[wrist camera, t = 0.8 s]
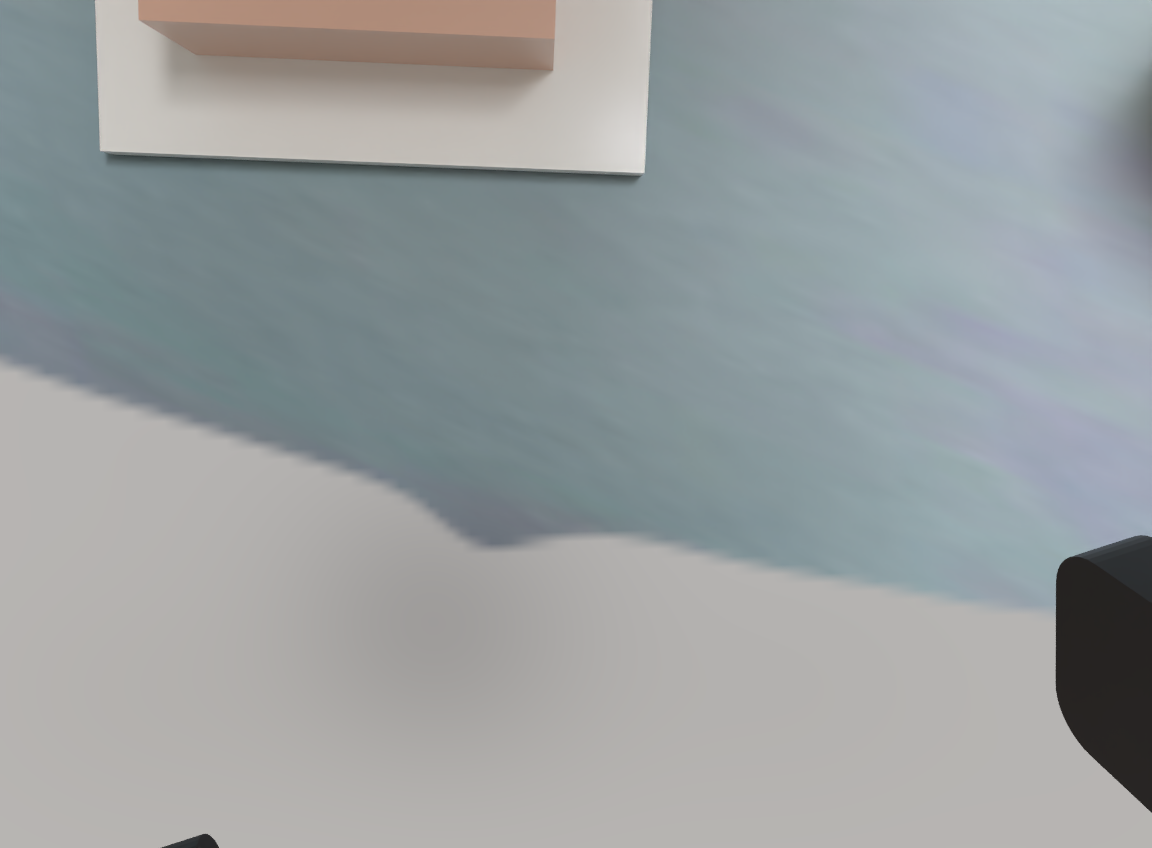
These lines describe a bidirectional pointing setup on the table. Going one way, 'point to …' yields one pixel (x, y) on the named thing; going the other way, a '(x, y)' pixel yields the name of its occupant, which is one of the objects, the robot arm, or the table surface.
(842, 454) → the table surface
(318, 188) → the table surface
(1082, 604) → the robot arm
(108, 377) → the table surface
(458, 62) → the socket block
